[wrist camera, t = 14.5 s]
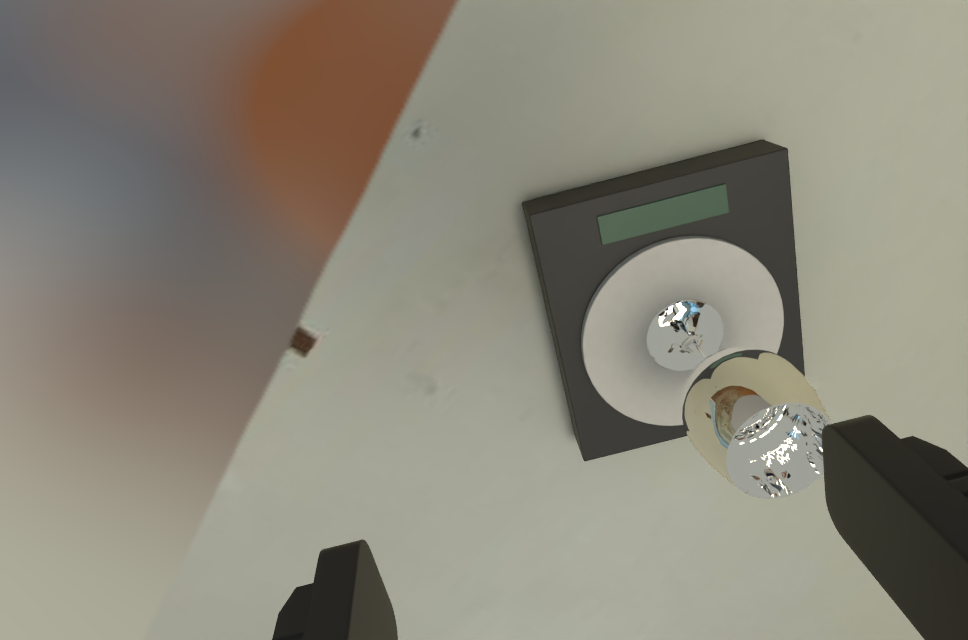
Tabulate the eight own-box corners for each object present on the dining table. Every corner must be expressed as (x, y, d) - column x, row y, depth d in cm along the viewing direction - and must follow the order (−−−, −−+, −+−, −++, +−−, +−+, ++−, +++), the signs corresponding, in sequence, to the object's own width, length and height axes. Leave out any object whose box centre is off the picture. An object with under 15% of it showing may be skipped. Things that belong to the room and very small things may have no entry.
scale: (521, 201, 41) (530, 217, 38) (763, 139, 41) (793, 149, 37) (574, 436, 47) (586, 467, 44) (785, 383, 47) (812, 411, 44)
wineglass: (754, 333, 41) (875, 447, 30) (677, 399, 42) (766, 532, 31) (692, 266, 39) (797, 363, 28) (613, 337, 41) (684, 456, 30)
